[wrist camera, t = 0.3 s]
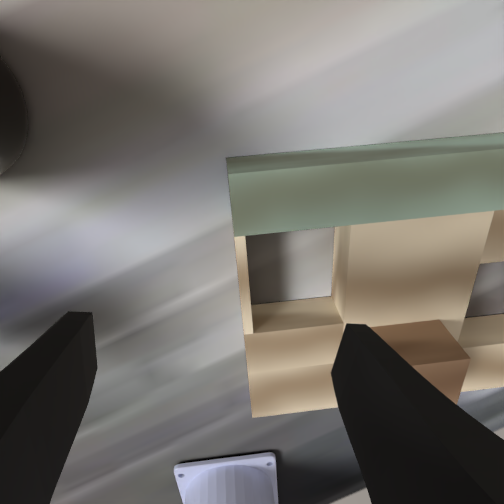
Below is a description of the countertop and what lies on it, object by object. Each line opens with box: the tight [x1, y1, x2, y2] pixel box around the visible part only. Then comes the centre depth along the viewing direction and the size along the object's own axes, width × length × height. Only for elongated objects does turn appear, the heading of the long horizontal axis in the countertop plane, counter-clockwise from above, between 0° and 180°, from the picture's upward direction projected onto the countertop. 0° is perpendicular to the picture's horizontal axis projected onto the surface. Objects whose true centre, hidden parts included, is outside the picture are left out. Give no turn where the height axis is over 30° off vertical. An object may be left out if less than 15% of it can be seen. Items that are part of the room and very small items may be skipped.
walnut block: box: [370, 319, 471, 405], centre depth 21 cm, size 4×4×3 cm
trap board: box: [226, 133, 504, 418], centre depth 21 cm, size 16×18×2 cm
